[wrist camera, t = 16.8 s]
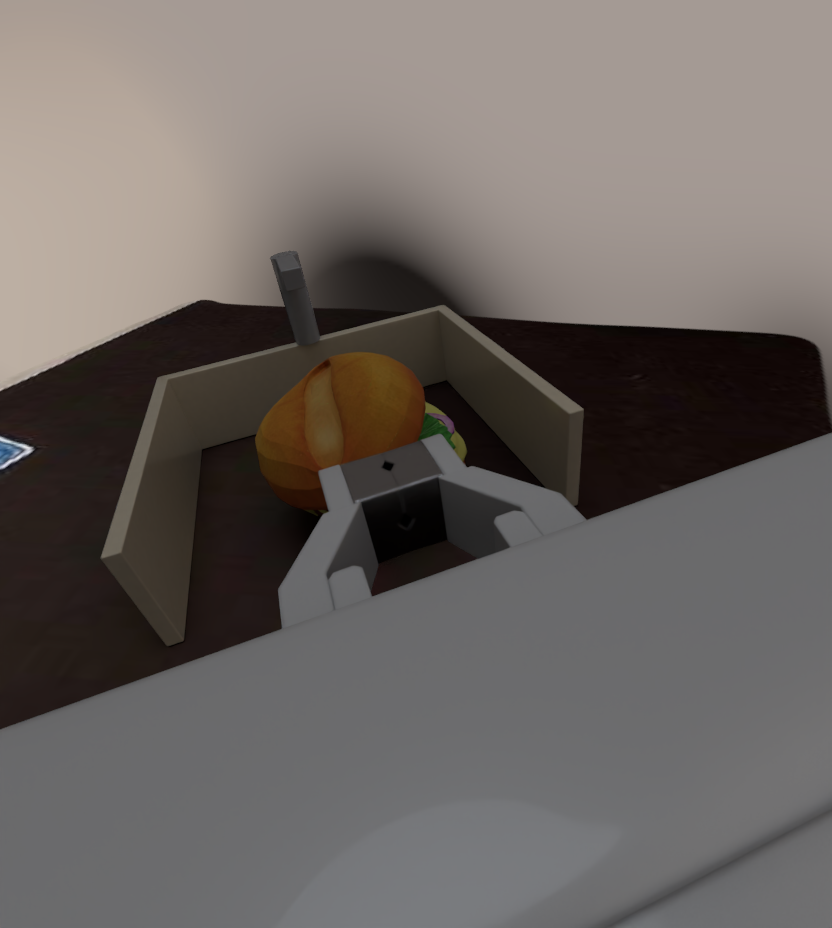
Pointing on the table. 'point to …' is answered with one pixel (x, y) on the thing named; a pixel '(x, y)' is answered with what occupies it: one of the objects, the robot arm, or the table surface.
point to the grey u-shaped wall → (265, 382)
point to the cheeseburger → (344, 423)
